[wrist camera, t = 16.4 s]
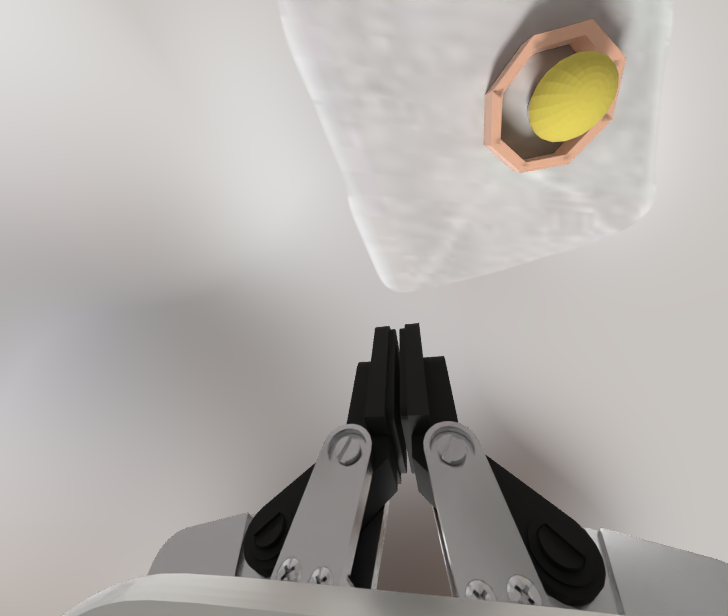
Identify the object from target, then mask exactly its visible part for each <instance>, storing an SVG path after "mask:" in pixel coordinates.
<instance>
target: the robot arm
mask: <svg viewBox="0 0 728 616" xmlns="http://www.w3.org/2000/svg"><path fill="white" fill-rule="evenodd" d="M406 447H407V450H406ZM406 451H408V457H409V462H410V467H411V472H412V473H415V475H416V480H417V485H418V490H419V492H420V493H421V494H422V495H423V496H424V497H425V498H426V499H427V500H428V501H429V502H430V504H431V505H432V507H433V512H434V516H435V521H436V525H437V530H438V534H439V539H440V543H441V547H442V552H443V556H444V560H445V565H446V569H447V574H448V579H449V583H450V588H451V592H452V597H445V596H435V595H424V594H415V593H404V592H394V591H383V590H376V586H377V579H378V573H379V567H380V561H381V554H382V548H383V542H384V535H385V529H386V523H387V516H388V510H389V499H390V498H391V497H392V496H393V495H394V494H395V493H396V492H397V485H398V484H401V473H407V452H406ZM61 616H728V563H725V562H722V561H720V560H718V559H714V558H711V557H707V556H703V555H700V554H696V553H692V552H688V551H685V550H681V549H677V548H674V547H670V546H666V545H662V544H659V543H655V542H651V541H647V540H644V539H640V538H637V537H633V536H629V535H625V534H622V533H618V532H614V531H611V530H607V529H603V528H600V529H599V531H596V530H593V529H589V528H585V527H582V526H580V525H579V524H578V523H577V522H576V521H574V520H573V519H572V518H571V517H569V516H568V515H566V514H565V513H564V512H562V511H561V510H559V509H558V508H557V507H556V506H554V505H553V504H551V503H550V502H549V501H547V500H546V499H545V498H543V497H542V496H541V495H539V494H538V493H537V492H535V491H534V490H533V489H531V488H530V487H529V486H527V485H526V484H524V483H523V482H522V481H520V480H519V479H518V478H516V477H515V476H514V475H512V474H511V473H509V472H508V471H507V470H506V469H504V468H503V467H501V466H500V465H499V464H497V463H496V462H495V461H493V460H492V459H491V458H489V457H488V456H487V455H485V453H484V451H483V449H482V446H481V444H480V442H479V440H478V438H477V437H476V435H475V434H474V433H473V432H472V431H471V430H470V429H469V428H468V427H466V426H464V425H462V424H460V423H458V419H457V414H456V410H455V405H454V400H453V395H452V390H451V386H450V381H449V376H448V371H447V367H446V362H445V358H444V356H439V357H426V358H423V354H422V345H421V336H420V327H419V323H415V324H405V328H403V329H400V352H399V346H398V341H397V335H396V330H395V329H392V330H391V329H390V326H385V327H376V328H375V334H374V342H373V349H372V358H371V362H359V363H358V366H357V371H356V376H355V381H354V387H353V392H352V398H351V403H350V409H349V414H348V420H347V424H346V425H343V426H340V427H338V428H337V429H335V430H333V431H332V432H331V433H330V434H329V435H328V437H327V438H326V440H325V442H324V444H323V447H322V449H321V451H320V454H319V456H318V459H317V462H316V463H315V464H314V465H312V466H311V467H310V468H309V469H308V470H306V471H305V472H304V473H303V474H302V475H301V476H299V477H298V478H297V479H296V480H295V481H294V482H293V483H291V484H290V485H289V486H288V487H286V488H285V489H284V490H283V491H282V492H281V493H279V494H278V495H277V496H276V497H274V498H273V499H272V500H271V501H270V502H269V503H268V504H266V505H265V506H264V507H263V508H262V509H261V510H260V511H259V512H258V513H257V514H253V515H250V514H249V513H244V514H240V515H236V516H232V517H228V518H224V519H220V520H216V521H212V522H208V523H204V524H200V525H196V526H192V527H188V528H185V529H183V530H181V531H179V532H177V533H176V534H174V535H173V536H172V537H171V538H170V539H168V540H167V542H166V543H165V544H164V545H163V547H162V548H161V549H160V550H159V552H158V554H157V556H156V558H155V559H154V561H153V563H152V566H151V568H150V571H149V573H148V575H147V576H141V577H137V578H133V579H129V580H127V581H124V582H121V583H118V584H115V585H113V586H110V587H108V588H106V589H104V590H102V591H100V592H98V593H96V594H94V595H92V596H91V597H89V598H87V599H86V600H84V601H82V602H81V603H79V604H77V605H76V606H74V607H73V608H71V609H69V610H68V611H66V612H65V613H64V614H63V615H61Z"/></svg>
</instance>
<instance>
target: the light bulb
mask: <svg viewBox="0 0 728 616" xmlns="http://www.w3.org/2000/svg"><path fill="white" fill-rule="evenodd" d="M618 80H619V74H618V70H617V67H616V64H615V63H614V62H613V61H612V60H611V59H610V57H609V56H607V55H606V54H603V53H600V52H597V51H585V52H578V53H575V54H573V55H571V56H569V57H567V58H565V59H562V60H561V61H559V62H558V63H557V64H556V65H555V66H553V67H552V68H551V69H550V70H549V71H547V73H546V74H545V75H544V76H543V78H542V79H541V80H540V82H539V83H538V84H537V87H536V89H535V91H534V93H533V95H532V97H531V100H530V102H529V104H528V108H527V116H528V118H529V121H530V125H531V127H532V129H533V131H534V133H535V134H537V135H538V136H539V137H540V138H541V139H544V140H547V141H551V142H560V141H568V140H570V139H573V138H576V137H578V136H580V135H582V134H584V133H585V132H587V131H588V130H590V129H591V128H592V127H594V126H595V125H596V124H597V123H598V122H599V121H600V120H601V119H602V118H603V116H604V115H605V114H606V113H607V111H608V110H609V108H610V106H611V105H612V103H613V101H614V99H615V96H616V93H617V89H618Z"/></svg>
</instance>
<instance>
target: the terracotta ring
mask: <svg viewBox="0 0 728 616" xmlns="http://www.w3.org/2000/svg"><path fill="white" fill-rule="evenodd" d="M568 44H569V45H570V47H571V48H572V49H573V50H574V51H575V52H576V53H578V52H585V51H597V52H600V53H603V54H606V55H607V56H609V57H610V59H611V60H612V61H613V62H614V63H615V64H616V67H617V70H618V74H619V80H618V89H617V93H616V96H615V99H614V101H613V103H612V105H611V106H610V108H609V110H608V111H607V113H606V114H605V115H604V116H603V118H602V119H601V120H600V121H599V122H598V123H597V124H596V125H595V126H594V127H592V128H591V129H590V130H588V131H587V132H585V133H584V134H582V135H580V136H578V137H576V138H573V139H570V140H568V141H564V143H563V144H562V145H561V146H560V147H559V148H558V149H557V150H556V151H555V152H554V153H553V154H548V155H543V156H538V157H533V158H528V159H522V158H521V157H519V156H518V155H517V154H516V153H515V152H514V151H513V150H512V149H511V148H510V147H508V146H507V145H506V144H505V143H504V142H503V141H502V140H501V120H502V100H503V93H504V91H505V90H506V89H507V87H508V86H509V85H510V83H511V82H512V81H513V79H514V78H515V77H516V75H517V74H518V73H519V71H520V70H521V69H522V67H523V66H524V65H525V64H526V62H527V61H528V60H529V58H530V57H531V56H532V54H535V53H538V52H542V51H546V50H549V49H553V48H557V47H561V46H564V45H568ZM625 61H626V57H625V55H624V54H623V53H622V52H621V51H620V50H619V48H618V47H617V46H616V45H615V44H614V43H613V41H612V40H611V39H610V38H609V37H608V36H607V35H606V33H605V32H604V31H603V30H602V29H601V28H600V26H599V25H598V24H597V23H596V22H595V21H594V19H590V20H587V21H583V22H580V23H576V24H572V25H569V26H565V27H562V28H558V29H555V30H551V31H548V32H544V33H541V34H537V35H534V36H532V37H531V38H530V39H528V40H527V41H526V42H525V43H523V44H522V45H521V46H520V48H519V49H518V50H517V52H516V53H515V55H514V56H513V57H512V59H511V60H510V62H509V63H508V64H507V66H506V67H505V68H504V70H503V71H502V73H501V74H500V75H499V77H498V78H497V79H496V81H495V82H494V84H493V85H492V86H491V88H490V89H489V91H488V92H487V93H486V95H485V120H484V146H485V147H487V148H488V149H489V150H490V151H491V152H492V153H493V154H495V155H496V156H497V157H498V158H499V159H500V160H501V161H502V162H504V163H505V164H506V165H507V166H508V167H509V168H510V169H511V170H513V171H517V172H520V173H523V172H528V171H533V170H538V169H543V168H548V167H554V166H559V165H564V164H569V163H570V162H571V161H572V160H573V159H574V158H575V157H576V156H577V155H578V154H579V153H580V152H581V151H582V150H583V149H584V147H585V146H586V145H587V144H588V143H589V142H590V141H591V140H592V139H593V138H594V137H595V136H596V135H597V134H598V133H599V132H600V131H601V130H602V129H603V128H604V127H605V126H606V125H607V124H608V123H609V122H610V121H611V120H612V118H613V114H614V110H615V105H616V101H617V96H618V92H619V87H620V83H621V78H622V74H623V69H624V65H625Z"/></svg>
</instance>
